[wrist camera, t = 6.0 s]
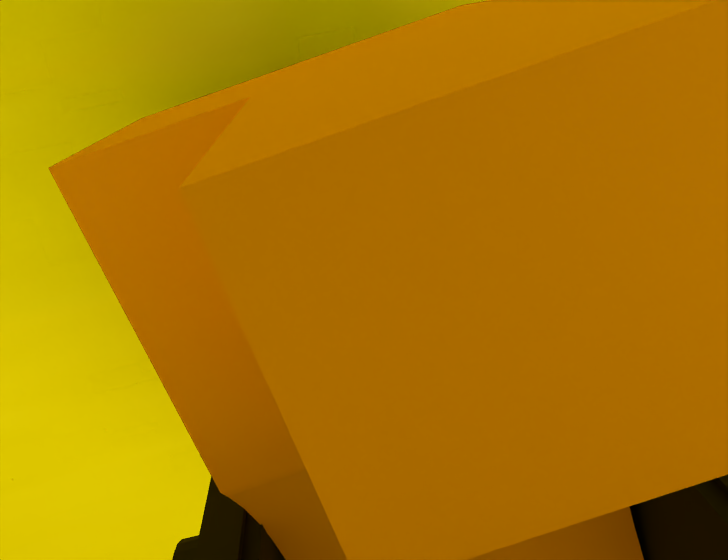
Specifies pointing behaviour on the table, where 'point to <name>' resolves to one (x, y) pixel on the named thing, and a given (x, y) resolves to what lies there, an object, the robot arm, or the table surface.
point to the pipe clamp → (441, 278)
